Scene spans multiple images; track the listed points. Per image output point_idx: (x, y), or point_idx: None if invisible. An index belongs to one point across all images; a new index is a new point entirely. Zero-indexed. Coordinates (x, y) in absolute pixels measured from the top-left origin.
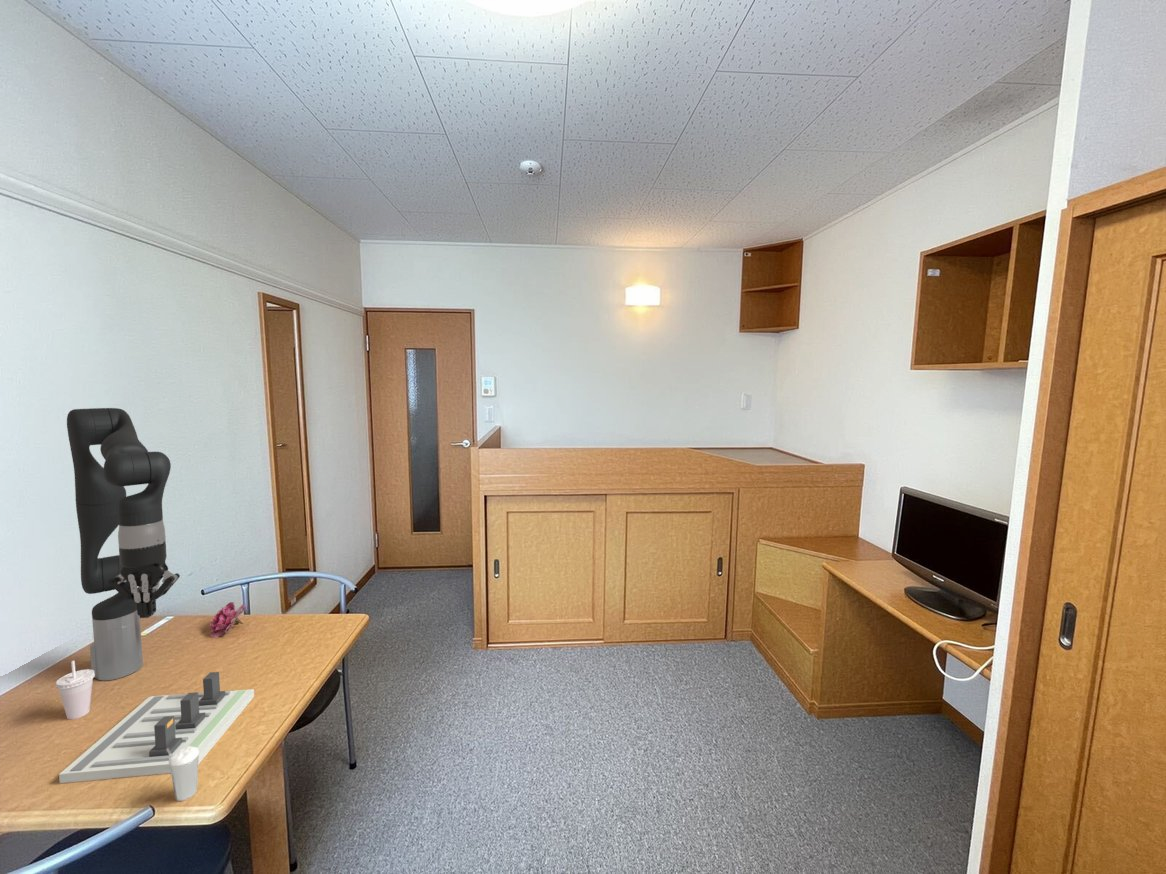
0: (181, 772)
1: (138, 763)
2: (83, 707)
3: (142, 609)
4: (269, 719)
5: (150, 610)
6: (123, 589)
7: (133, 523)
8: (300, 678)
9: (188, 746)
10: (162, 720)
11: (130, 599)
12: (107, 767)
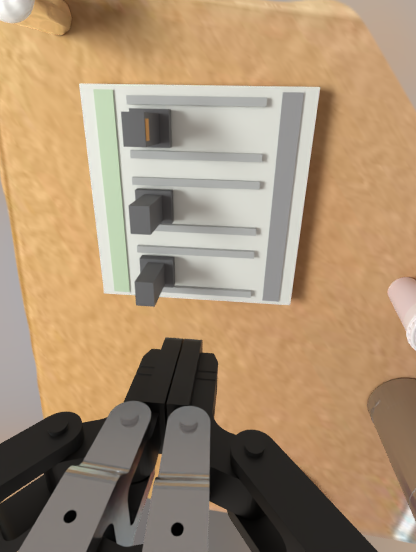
0: None
1: (182, 95)
2: (396, 291)
3: (177, 369)
4: (40, 215)
5: (146, 367)
6: (297, 535)
7: None
8: (58, 324)
9: (5, 9)
10: (138, 131)
11: (238, 433)
12: (236, 93)
